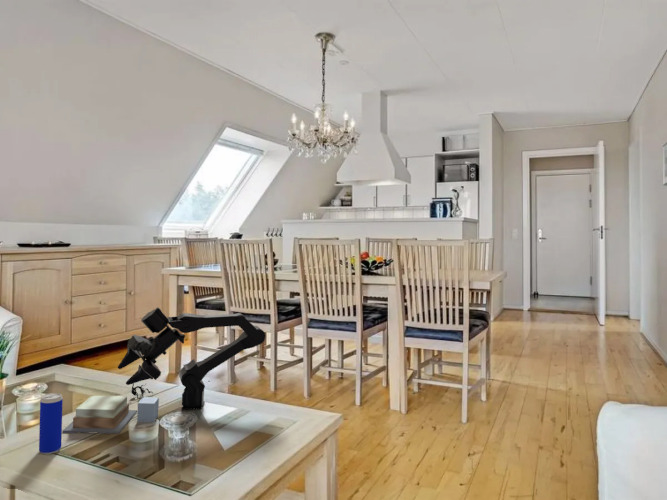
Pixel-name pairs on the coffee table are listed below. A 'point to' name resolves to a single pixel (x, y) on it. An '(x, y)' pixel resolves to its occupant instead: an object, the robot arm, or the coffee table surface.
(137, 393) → the creature
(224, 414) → the coffee table surface
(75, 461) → the coffee table surface
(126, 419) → the grey square plate
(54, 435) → the beverage can
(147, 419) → the top block
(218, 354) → the robot arm
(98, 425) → the plinth
